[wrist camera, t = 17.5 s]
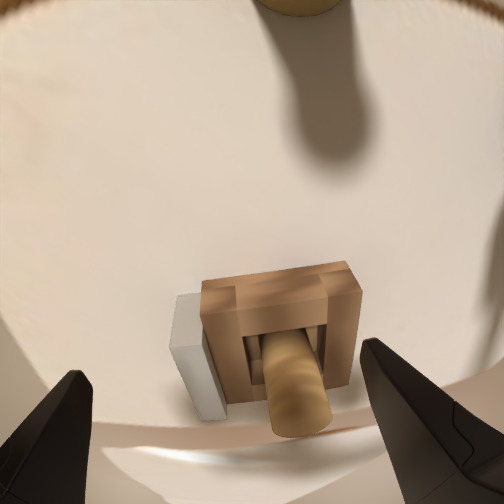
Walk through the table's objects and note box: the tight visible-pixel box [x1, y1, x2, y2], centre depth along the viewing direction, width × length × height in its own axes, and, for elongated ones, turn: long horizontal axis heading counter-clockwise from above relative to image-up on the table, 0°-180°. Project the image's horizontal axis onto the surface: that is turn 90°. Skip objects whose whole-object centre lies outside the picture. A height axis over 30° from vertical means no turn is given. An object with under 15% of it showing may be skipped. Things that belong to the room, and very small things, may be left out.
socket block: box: [200, 261, 363, 404], centre depth 23 cm, size 10×10×4 cm
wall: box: [169, 293, 227, 421], centre depth 23 cm, size 2×9×5 cm, turn 6°
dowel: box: [258, 328, 333, 438], centre depth 20 cm, size 4×4×8 cm
